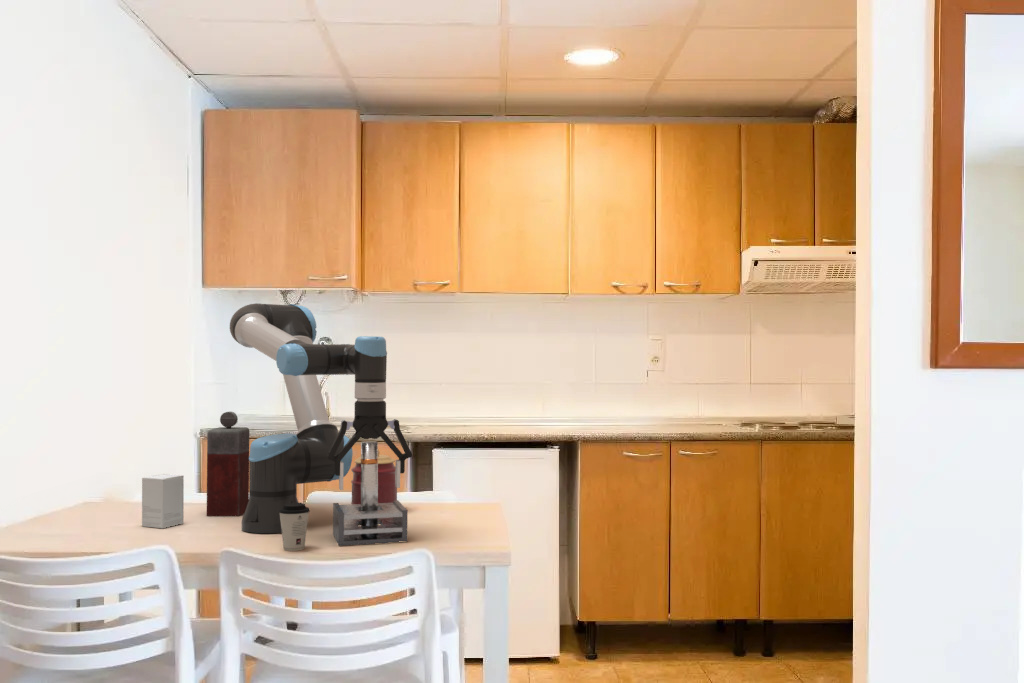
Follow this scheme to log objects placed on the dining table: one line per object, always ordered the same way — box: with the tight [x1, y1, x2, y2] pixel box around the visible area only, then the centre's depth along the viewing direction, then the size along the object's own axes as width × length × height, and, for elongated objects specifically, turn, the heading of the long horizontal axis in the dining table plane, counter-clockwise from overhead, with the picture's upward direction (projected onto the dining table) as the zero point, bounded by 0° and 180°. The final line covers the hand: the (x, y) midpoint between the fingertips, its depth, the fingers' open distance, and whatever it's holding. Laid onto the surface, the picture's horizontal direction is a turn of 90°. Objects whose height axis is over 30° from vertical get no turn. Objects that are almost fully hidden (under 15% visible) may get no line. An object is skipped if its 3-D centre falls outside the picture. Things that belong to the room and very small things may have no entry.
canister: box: [350, 449, 398, 511], centre depth 247 cm, size 13×13×18 cm
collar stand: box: [332, 499, 409, 547], centre depth 212 cm, size 16×14×8 cm
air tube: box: [360, 440, 379, 535], centre depth 212 cm, size 4×4×22 cm
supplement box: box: [141, 473, 185, 529], centre depth 225 cm, size 7×7×13 cm
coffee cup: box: [279, 502, 311, 552], centre depth 200 cm, size 7×7×10 cm
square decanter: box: [206, 411, 250, 517], centre depth 243 cm, size 9×11×28 cm
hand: (369, 488), depth 212 cm, fingers open, 13 cm apart
